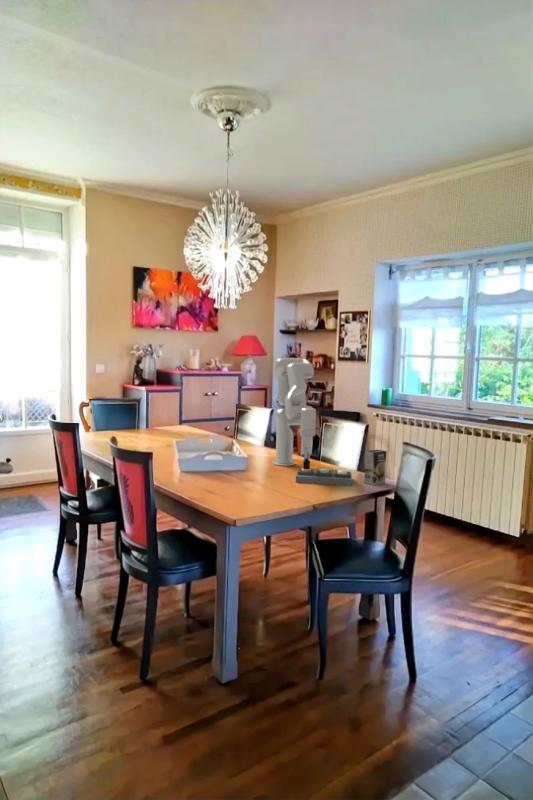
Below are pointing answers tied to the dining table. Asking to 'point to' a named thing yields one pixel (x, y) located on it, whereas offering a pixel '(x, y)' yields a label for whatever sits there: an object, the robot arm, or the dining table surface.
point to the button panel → (324, 477)
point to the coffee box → (375, 467)
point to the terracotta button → (305, 470)
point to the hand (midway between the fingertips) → (306, 468)
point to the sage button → (323, 470)
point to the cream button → (342, 472)
